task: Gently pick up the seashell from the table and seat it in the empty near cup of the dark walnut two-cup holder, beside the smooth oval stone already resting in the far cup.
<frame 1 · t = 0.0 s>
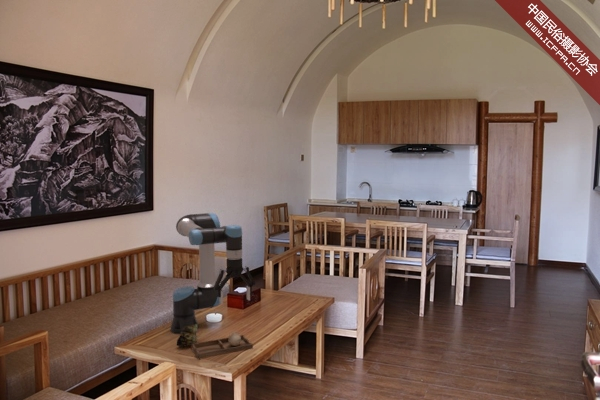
hand: (235, 301, 234), 28 cm above the table, fingers open, 13 cm apart
seashell: (187, 345, 253), on the table
holder: (222, 349, 247), on the table
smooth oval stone: (234, 345, 250), point 1 cm above the table, touching holder
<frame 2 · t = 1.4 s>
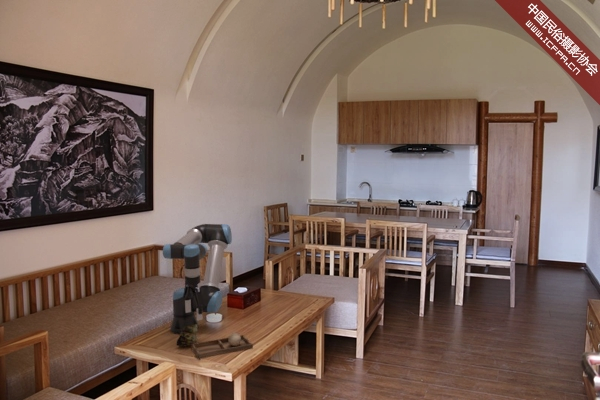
hand: (193, 316, 250), 16 cm above the table, fingers open, 13 cm apart
nothing on the table moved.
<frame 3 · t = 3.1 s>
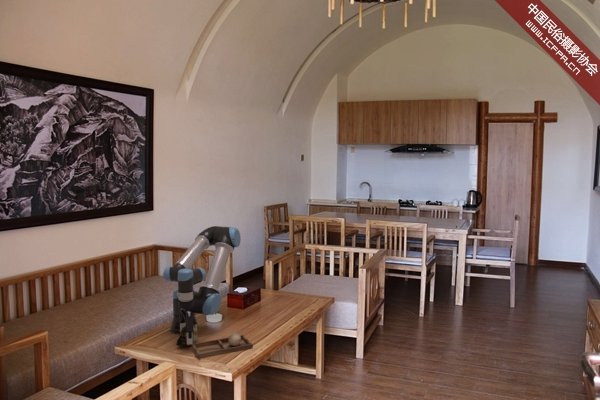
hand: (186, 339, 252), 3 cm above the table, fingers open, 13 cm apart
nothing on the table moved.
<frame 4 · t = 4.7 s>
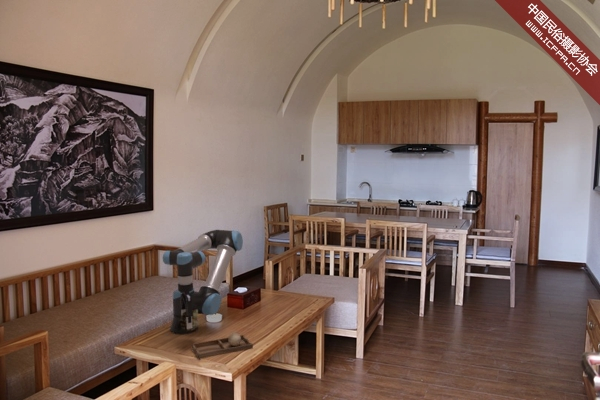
hand: (187, 324, 252), 10 cm above the table, fingers closed on seashell, 10 cm apart
seashell: (187, 330, 253), point 8 cm above the table, touching gripper
everything else where it was.
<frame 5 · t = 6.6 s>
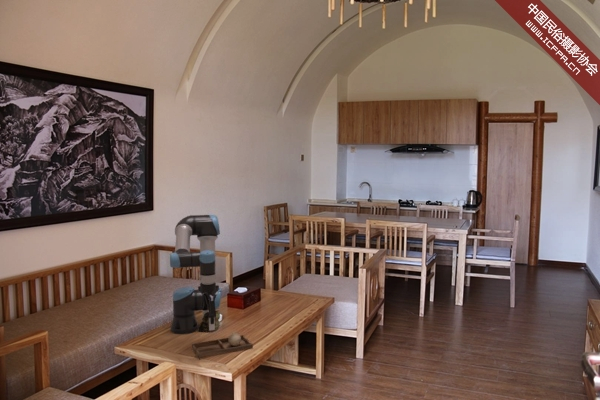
hand: (208, 326, 243), 13 cm above the table, fingers closed on seashell, 10 cm apart
seashell: (209, 331, 243), point 10 cm above the table, touching gripper
everything else where it was.
when the fingers open (4 cm above the table, at t = 8.7 s): seashell stays where it is, resting on holder.
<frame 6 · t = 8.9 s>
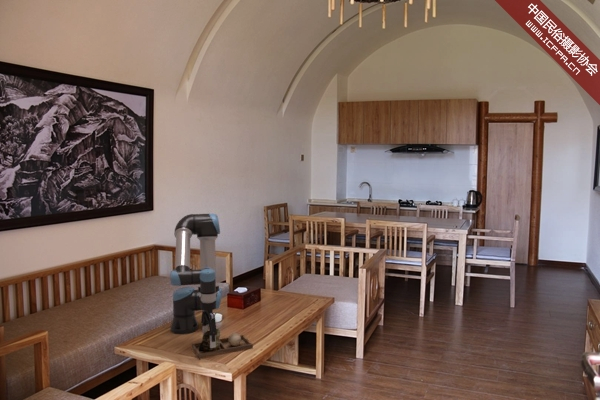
hand: (209, 342, 244), 5 cm above the table, fingers open, 12 cm apart
seashell: (209, 350, 244), point 1 cm above the table, touching holder
everything else where it was.
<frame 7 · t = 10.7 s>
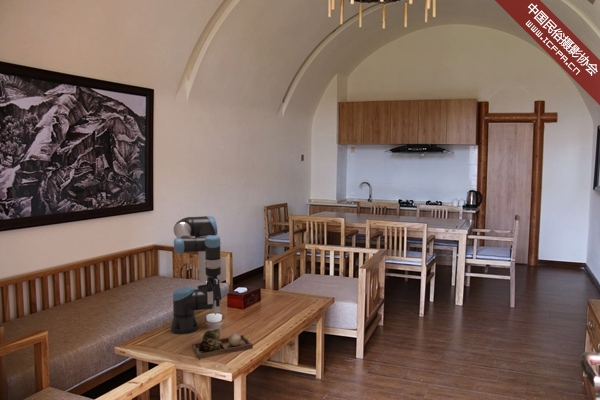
hand: (213, 308, 247), 21 cm above the table, fingers open, 13 cm apart
nothing on the table moved.
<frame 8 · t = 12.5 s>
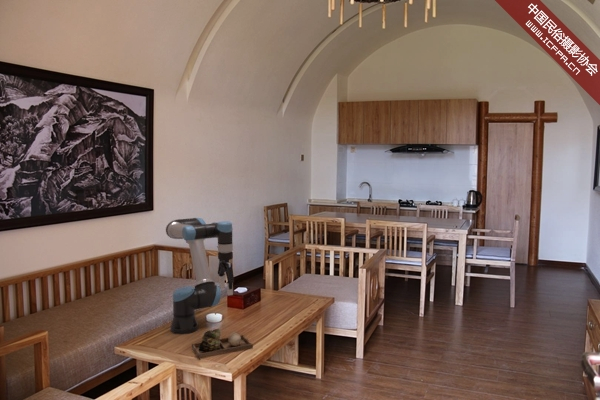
hand: (226, 291, 255), 27 cm above the table, fingers open, 13 cm apart
nothing on the table moved.
at the end: seashell inside the target area on the holder (0.2 cm from its centre), point 0.6 cm above the holder's base; the gripper is holding nothing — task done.
